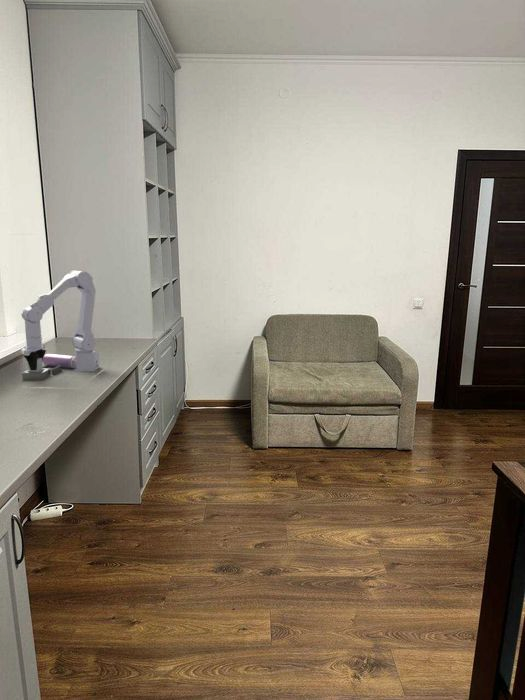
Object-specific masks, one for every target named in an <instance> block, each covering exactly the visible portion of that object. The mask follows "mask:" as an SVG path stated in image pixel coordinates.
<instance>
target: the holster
mask: <svg viewBox="0 0 525 700" xmlns="http://www.w3.org/2000/svg"><path fill="white" fill-rule="evenodd" d="M42 367H43V368H49V367H48V365H45V366H44V365H42ZM61 371H62V368H61V365H59V366H57V367H52V369H50V373H51V375H50V376H54V375H57V374H58V373H60V372H61Z"/></svg>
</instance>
